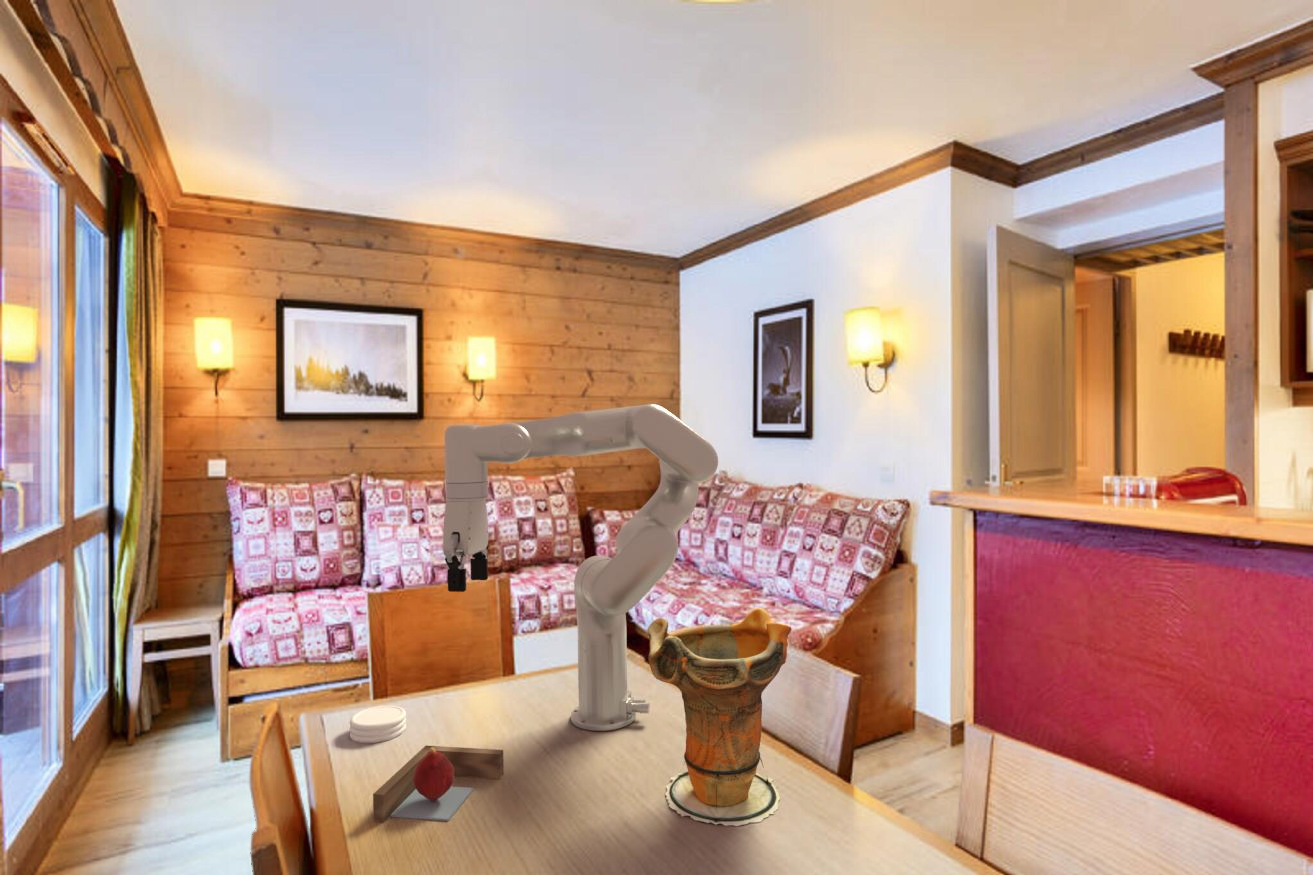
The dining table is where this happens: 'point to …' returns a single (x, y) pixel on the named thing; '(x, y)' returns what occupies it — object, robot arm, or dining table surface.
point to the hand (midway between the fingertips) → (468, 585)
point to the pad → (433, 805)
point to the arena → (464, 764)
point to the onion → (433, 775)
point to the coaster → (377, 724)
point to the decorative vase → (721, 713)
